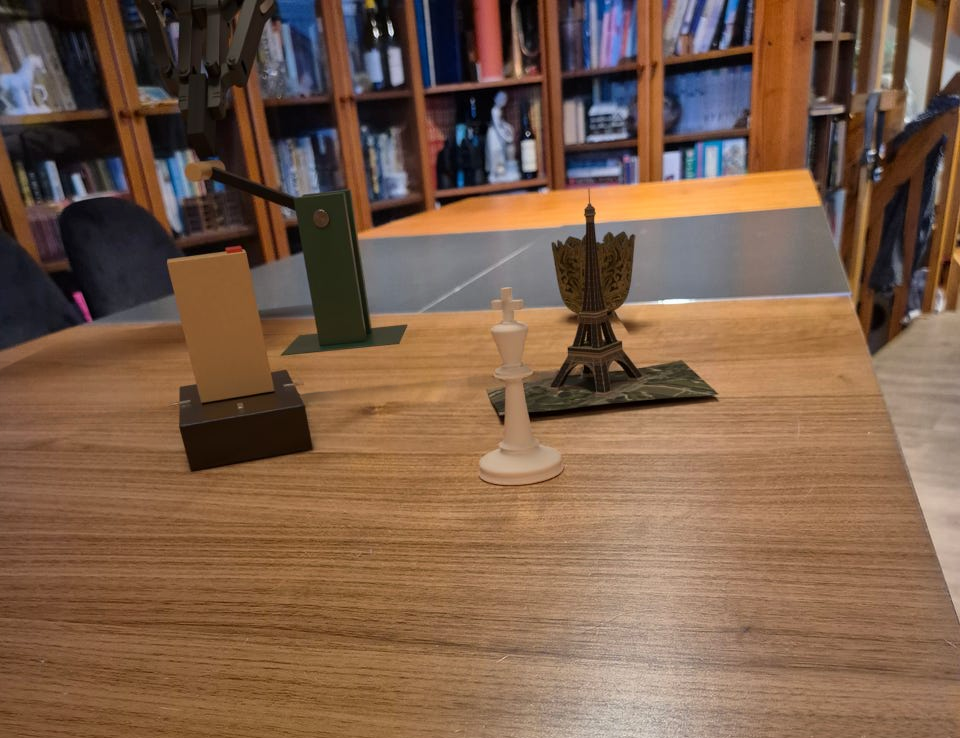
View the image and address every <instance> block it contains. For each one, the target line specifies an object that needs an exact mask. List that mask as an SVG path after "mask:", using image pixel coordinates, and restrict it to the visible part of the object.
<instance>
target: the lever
mask: <svg viewBox="0 0 960 738" xmlns="http://www.w3.org/2000/svg"><path fill="white" fill-rule="evenodd" d="M183 172H184V175H185V177H186V178H187V180H188V181H189V182H191V183H192V182H193V183H196V182H197V183H198V182H202V181H207V180H211V181H214V182H216V183H219V184H222V185H225V186H227V187H230V188H232V189H235V190H238V191H241V192H243V193H246V194H249V195H251V196H254V197H256V198H260V199H262V200H265V201H268V202H270V203H273V204H275V205H278V206H281V207H283V208H286V209H288V210H291V211H294V212H296V210H295V205H294V198H295V197H296V196H294V195H292V194H289V193H286V192H283V191H280V190H278V189H276V188H273V187H270V186H267V185H265V184H262V183H259V182H257V181H254V180H251V179H249V178H246V177H244V176H241V175H238V174H236V173H232V172H230V171H227V170H226V166H225V164H224V163H223V161H221V160H220V159H211V160H203V161H195V162H189V163H187V164H186V165H185V167H184V171H183Z"/></svg>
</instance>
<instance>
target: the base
mask: <svg viewBox="0 0 960 738" xmlns="http://www.w3.org/2000/svg"><path fill="white" fill-rule="evenodd" d="M271 375H272V380H273V385H274V391H273V392H267V393H260V394H254V395H248V396H242V397H236V398H230V399H224V400H218V401H212V402H206V403H201V400H200V396H199V392H198V388H197V384H196V383H194V384H189V385H182V386H179V390H178V391H179V392H178V394H179V396H178V400H179V401H174V402H169V404H168V405H169V407H176V406H178V407H179V408H178V428H179V432H180V436H181V440H182V443H183V447H184V452H185V454H186V455H185V456H186V459H187V462H188V466H189V470H190V471H191V472H193V471H197V470H204V469H209V468H215V467H216V468H217V467H222V466H227V465H233V464H238V463H243V462H249V461H254V460H255V461H256V460H261V459H265V458H271V457H272V458H273V457H277V456H278V457H279V456H284V455H288V454H294V453H301V452H305V451H312V450H313V449H314V445H313V441H312V436H311V429H310V426H309V420H308V414H307V410H306V405H305V402H304V401H303V399H302V397H301V395H300V393H299V391H298V389H297V388H296V387H297V386H304V385H305V384H304V381H297V382H293V379H292V378H291V375H290V373H289V372H288V370H287V369H282V370H275V371H271Z"/></svg>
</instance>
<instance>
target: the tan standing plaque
mask: <svg viewBox="0 0 960 738" xmlns="http://www.w3.org/2000/svg"><path fill="white" fill-rule="evenodd" d="M224 249H225V251H219V252H211V253H205V254H197V255H189V256H183V257H175V258H167V261H166V265H167V269H168V274H169V278H170V282H171V286H172V289H173V295H174V297H175V303H176V305H177V310H178V314H179V318H180V322H181V327H182V330H183V334H184V339H185V342H186V346H187V351H188V355H189V360H190V363H191V367H192V372H193V376H194V380H195V384H197V388H198V392H199V396H200V400H201V403H206V402H212V401H218V400H224V399H230V398H236V397H242V396H248V395H254V394H260V393H267V392H273V391H274V385H273V380H272V375H271V372H272V371H271V366H270V361H269V357H268V352H267V346H266V343H265V337H264V333H263V327H262V323H261V318H260V313H259V308H258V304H257V303H258V302H257V298H256V293H255V288H254V282H253V279H252V278H253V277H252V273H251V268H250V264H249V259H248V256H247V251H246V250H245V249H243V247H242V246H241V245H235V246H227V247H225V248H224Z"/></svg>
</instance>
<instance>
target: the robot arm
mask: <svg viewBox="0 0 960 738" xmlns="http://www.w3.org/2000/svg"><path fill="white" fill-rule="evenodd" d="M132 2H133V5H134V7H135V9H136V11H137V13H138V16H139V18H140V19H141V21H142V24H143V25H144V28H145V29H146V30H147V34H148V37H149V42H150V45H151V50H152V54H153V57H154V61H155V64H156V69H157V72H158V73H159V75H160V78H161V79H162V82H163V84H164V86H165V88H166V90H167V91H168V94H169V95H171V96H178V98H177V100H178V101H177V107H178V109H179V111H180V113H181V115H182V117H183V119H184V121H185V123H186V135H187V138H188V140H189V142H190V144H191V146H192V148H193V150H194V152H195V154H196V156H197V158H198V159H206V158H215V157H216V132H217V131H216V127H217V126H216V125H217V124H216V123H217V121H220V120H225V118H226V114H227V93H228V92H229V89H230V88H232V87H234V86H235V87H237V88H239V89H242V88H245V87H246V86H247V84H248V83H249V79H250V76H251V73H252V70H253V66H254V63H255V59H256V56H257V53H258V49H259V46H260V43H261V40H262V37H263V33H264V29H265V26H266V24H267V23H268V21H269V20H270V19H271V17H272V16H273V15H274V13H275V12H276V11H277V6H276V4H275V1H274V0H132ZM167 10H168V11H169V12H170V13H171V15H173V16H174V17H175V18H176V19H177V20H178V39H177V41H178V43H177V62H176V63H177V66H176V63H175V61H174V56H173V53H172V52H173V51H172V48H171V46H170V45H171V44H170V41H169V38H168V35H167V32H166V30H165V28H166V26H167V24H166V19H167V16H166V11H167ZM238 14H239V15H238ZM237 15H238V19H237V21H236V25H235V28H234V30H233V31H234V32H233V34H232V21H233V20H234V18H235V17H236V16H237ZM205 29H206V31H205ZM205 32H206V33H205ZM205 34H206V37H205ZM205 39H206V40H205ZM230 39H231V41H230ZM204 42H205V61H204V60H202V56H203V55H202V53H203V43H204ZM202 64H203V67H204V69H205V71H206V72H203V73H202Z"/></svg>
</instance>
